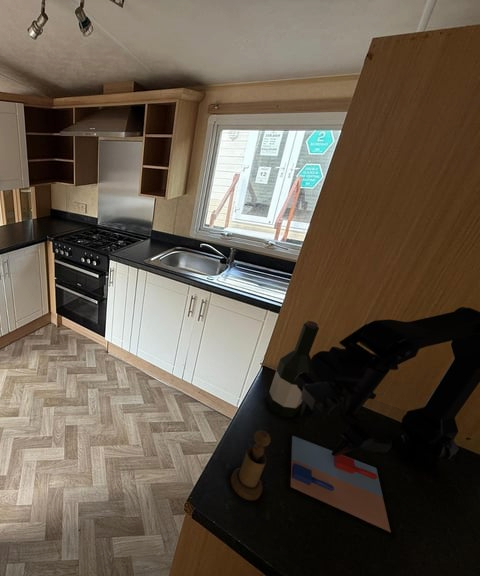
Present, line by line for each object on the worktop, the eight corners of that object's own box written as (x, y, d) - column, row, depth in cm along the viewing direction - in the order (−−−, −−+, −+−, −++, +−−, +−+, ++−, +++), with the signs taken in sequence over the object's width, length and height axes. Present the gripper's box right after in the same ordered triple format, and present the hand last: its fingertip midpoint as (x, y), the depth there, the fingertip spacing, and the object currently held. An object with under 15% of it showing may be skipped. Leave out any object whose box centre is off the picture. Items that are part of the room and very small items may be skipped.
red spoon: (374, 473, 75) (377, 468, 74) (377, 484, 73) (380, 479, 72) (333, 457, 79) (336, 452, 78) (334, 467, 76) (337, 462, 76)
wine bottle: (297, 404, 95) (331, 320, 82) (296, 423, 89) (332, 336, 75) (267, 393, 99) (294, 312, 86) (264, 410, 93) (292, 326, 79)
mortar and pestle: (264, 504, 69) (286, 450, 61) (233, 498, 70) (251, 445, 62) (256, 475, 75) (275, 423, 67) (228, 470, 76) (243, 418, 68)
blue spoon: (332, 484, 72) (335, 480, 72) (333, 496, 70) (336, 491, 69) (292, 467, 76) (294, 462, 75) (291, 477, 74) (294, 473, 73)
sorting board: (375, 469, 76) (376, 468, 76) (389, 533, 64) (390, 532, 64) (291, 436, 85) (292, 435, 84) (289, 488, 72) (290, 486, 72)
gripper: (291, 347, 69) (260, 400, 75) (364, 415, 52) (317, 475, 58) (333, 354, 71) (300, 404, 77) (417, 420, 54) (366, 478, 60)
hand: (317, 436), depth 68 cm, fingers open, 9 cm apart
